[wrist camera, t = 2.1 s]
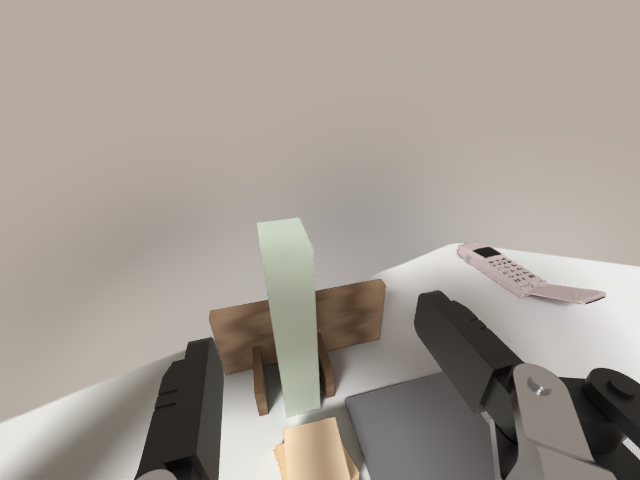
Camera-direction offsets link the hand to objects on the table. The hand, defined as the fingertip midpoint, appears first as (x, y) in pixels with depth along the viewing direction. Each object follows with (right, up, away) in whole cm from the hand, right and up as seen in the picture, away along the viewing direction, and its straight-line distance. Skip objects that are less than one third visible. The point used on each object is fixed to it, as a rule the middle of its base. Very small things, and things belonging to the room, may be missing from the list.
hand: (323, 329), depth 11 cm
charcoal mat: (+11, -18, +18) cm, 28 cm away
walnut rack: (-1, -14, +26) cm, 30 cm away
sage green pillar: (-3, -15, +24) cm, 29 cm away
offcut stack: (-1, -20, +17) cm, 26 cm away
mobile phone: (+35, -4, +42) cm, 55 cm away
